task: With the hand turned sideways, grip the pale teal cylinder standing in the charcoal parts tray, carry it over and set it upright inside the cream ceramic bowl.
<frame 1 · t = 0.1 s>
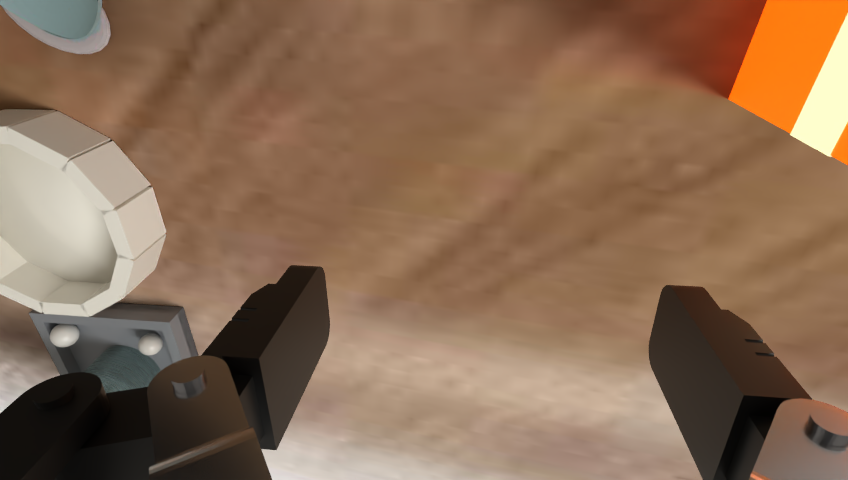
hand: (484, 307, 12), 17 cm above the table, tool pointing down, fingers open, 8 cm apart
teal cylinder: (132, 369, 39), point 1 cm above the table, touching parts tray
parts tray: (138, 362, 40), on the table
bowl: (69, 206, 33), on the table
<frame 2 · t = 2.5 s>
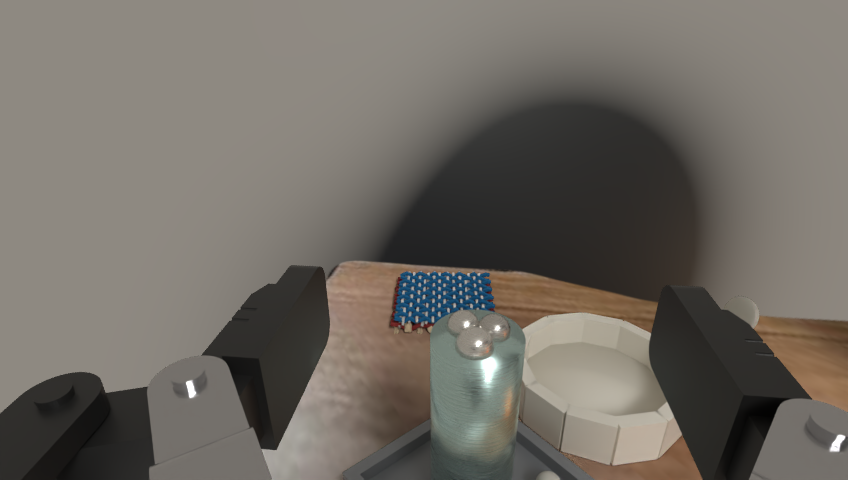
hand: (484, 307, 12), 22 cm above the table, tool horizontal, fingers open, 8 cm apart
pacifier: (715, 361, 44), on the table
woven mat: (442, 310, 52), on the table
bowl: (592, 395, 39), on the table
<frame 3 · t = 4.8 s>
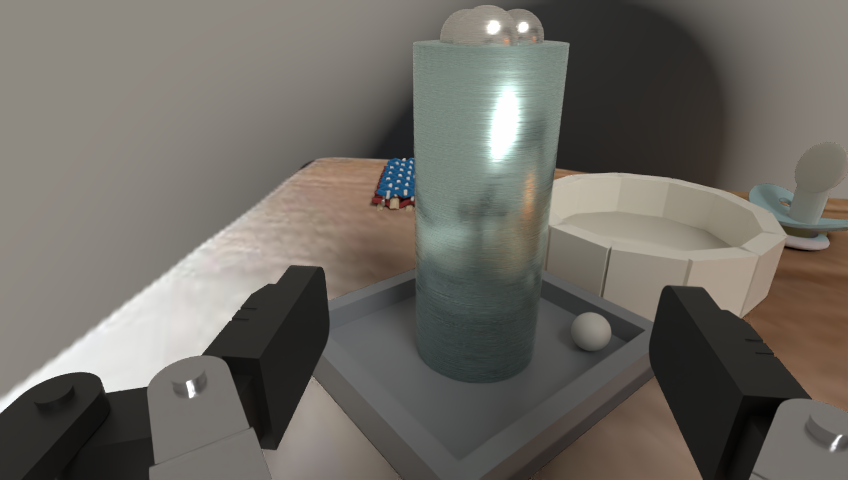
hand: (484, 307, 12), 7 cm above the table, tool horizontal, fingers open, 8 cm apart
teal cylinder: (474, 343, 21), point 1 cm above the table, touching parts tray
pacifier: (784, 236, 34), on the table
parts tray: (473, 358, 21), on the table
woven mat: (438, 197, 42), on the table
bowl: (635, 261, 29), on the table
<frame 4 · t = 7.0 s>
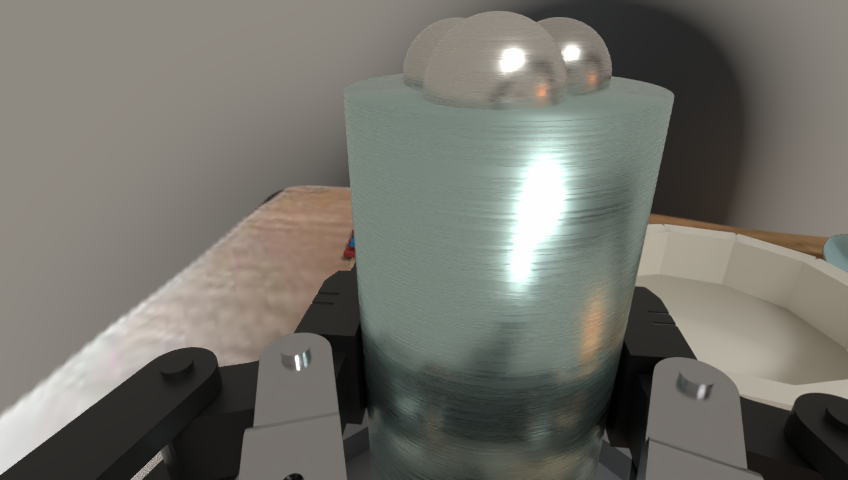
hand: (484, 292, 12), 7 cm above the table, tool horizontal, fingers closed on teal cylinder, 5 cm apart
bowl: (695, 357, 21), on the table
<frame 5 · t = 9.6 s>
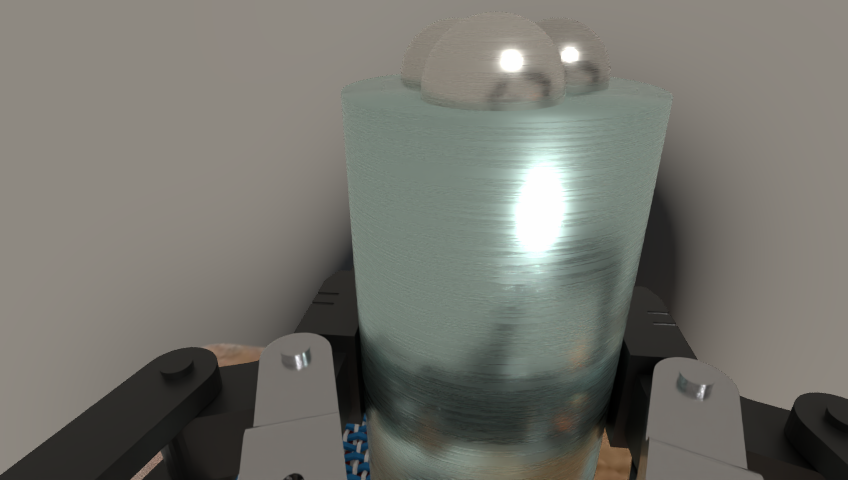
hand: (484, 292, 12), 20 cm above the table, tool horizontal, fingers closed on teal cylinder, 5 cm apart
woven mat: (323, 442, 34), on the table
when the fingers open (9 cm above the table, at t = 12.5 s): teal cylinder drops 1 cm, resting on bowl.
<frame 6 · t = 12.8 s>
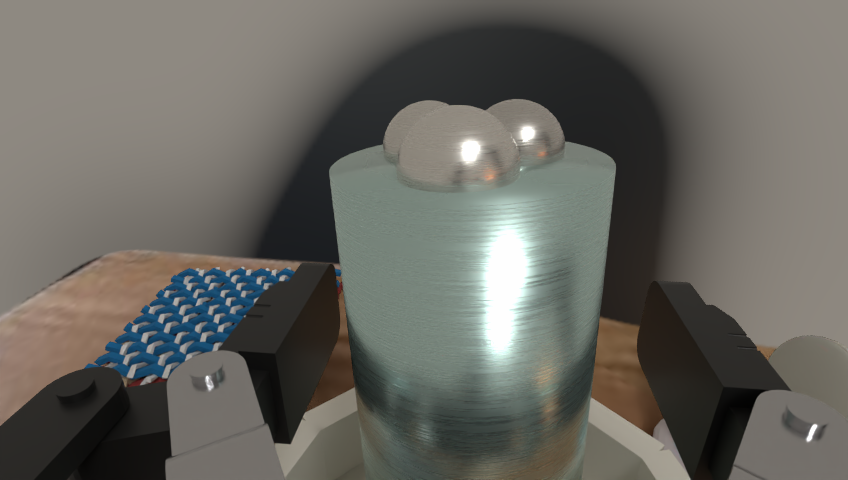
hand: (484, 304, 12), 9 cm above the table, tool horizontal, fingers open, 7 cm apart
woven mat: (235, 344, 26), on the table
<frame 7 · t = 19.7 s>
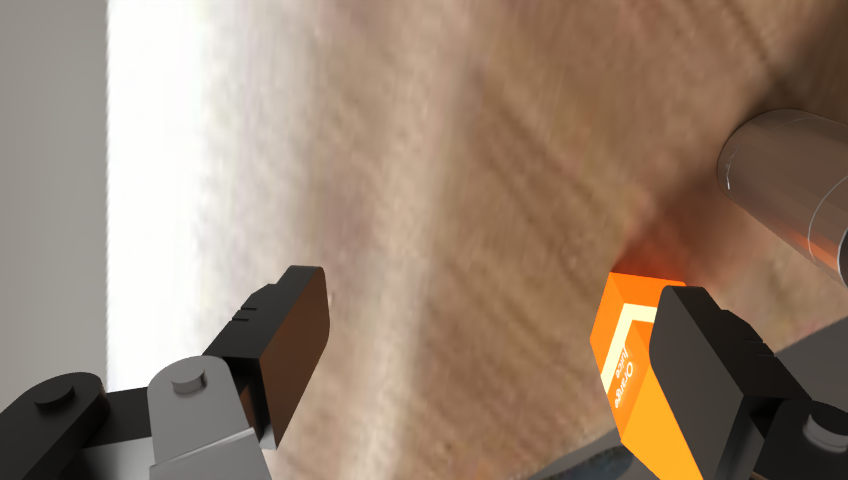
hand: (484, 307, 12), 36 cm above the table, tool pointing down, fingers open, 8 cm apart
orange juice: (633, 310, 52), on the table
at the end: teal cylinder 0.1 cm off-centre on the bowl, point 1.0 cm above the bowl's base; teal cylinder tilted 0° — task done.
